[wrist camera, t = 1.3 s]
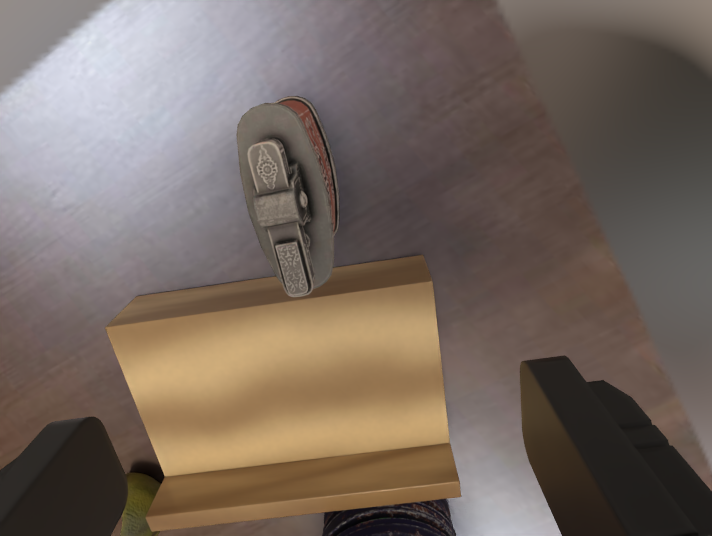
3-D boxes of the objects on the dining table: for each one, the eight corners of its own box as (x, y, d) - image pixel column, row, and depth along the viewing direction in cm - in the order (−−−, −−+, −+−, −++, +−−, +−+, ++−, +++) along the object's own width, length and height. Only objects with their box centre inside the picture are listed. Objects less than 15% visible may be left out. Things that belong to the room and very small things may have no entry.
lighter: (257, 102, 25) (200, 118, 16) (319, 89, 25) (296, 97, 16) (293, 243, 28) (262, 324, 19) (349, 232, 28) (345, 309, 19)
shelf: (136, 296, 30) (73, 357, 23) (423, 254, 29) (442, 306, 22) (190, 445, 34) (151, 532, 28) (441, 414, 33) (461, 497, 27)
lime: (143, 514, 37) (112, 577, 32) (106, 470, 35) (68, 530, 30) (192, 496, 36) (168, 558, 31) (157, 450, 34) (125, 509, 30)
